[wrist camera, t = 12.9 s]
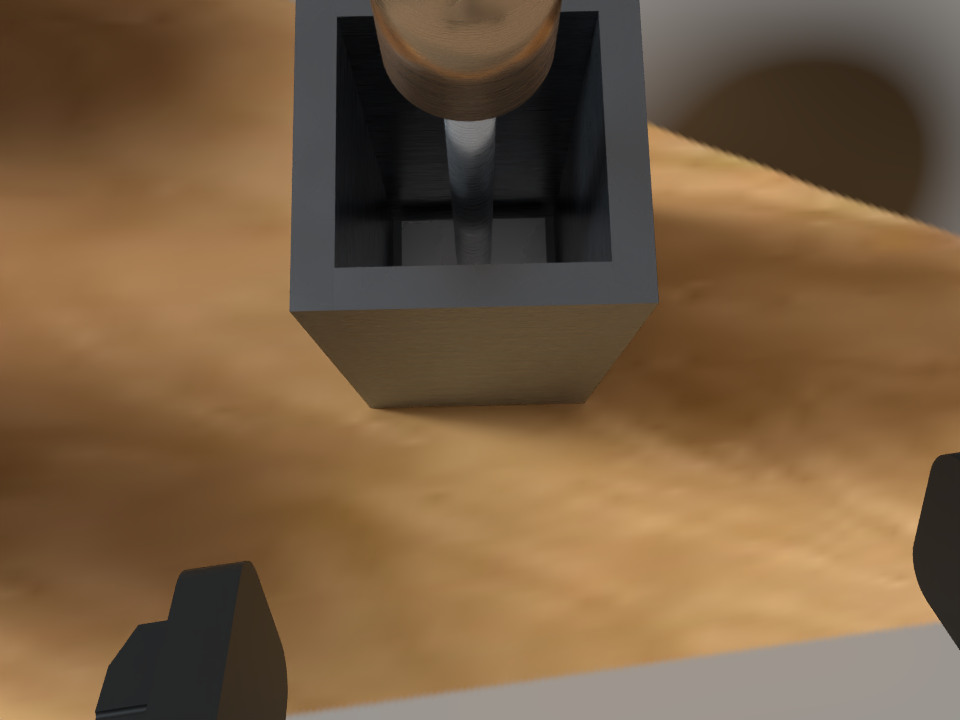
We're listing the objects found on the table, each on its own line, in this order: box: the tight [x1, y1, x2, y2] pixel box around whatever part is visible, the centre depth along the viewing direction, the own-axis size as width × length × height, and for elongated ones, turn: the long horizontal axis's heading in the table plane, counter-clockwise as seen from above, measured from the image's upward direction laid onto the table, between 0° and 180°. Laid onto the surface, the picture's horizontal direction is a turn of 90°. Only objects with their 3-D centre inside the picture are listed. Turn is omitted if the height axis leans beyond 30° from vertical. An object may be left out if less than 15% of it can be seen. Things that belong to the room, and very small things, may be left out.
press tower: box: [290, 0, 659, 408], centre depth 34 cm, size 10×10×18 cm
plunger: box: [370, 0, 562, 266], centre depth 29 cm, size 7×7×26 cm
